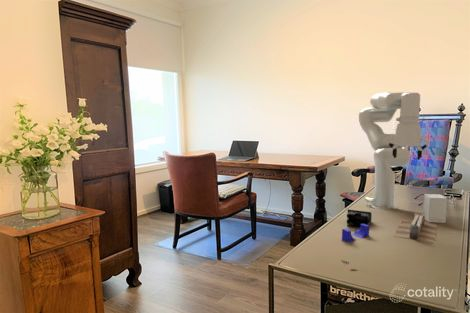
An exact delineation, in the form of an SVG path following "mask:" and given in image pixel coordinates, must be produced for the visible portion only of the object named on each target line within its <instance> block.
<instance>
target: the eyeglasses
mask: <svg viewBox="0 0 470 313" xmlns="http://www.w3.org/2000/svg"><path fill="white" fill-rule="evenodd" d="M424 194H425V193H423V194H422V193H421V194H419V195H417V196H416V197H414V200H417V199H418V198H419V197H420V196H424ZM443 196H444V197H446V198H449V202H447V205H453V206H454V208H456V206H457V202H456V200H457V198H456V197H454V195H453V194H450V195H449V196H446V195H443ZM451 196H452V199H451ZM421 205H424V201H423V202H420V203H419V204H418V206H421Z"/></svg>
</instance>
